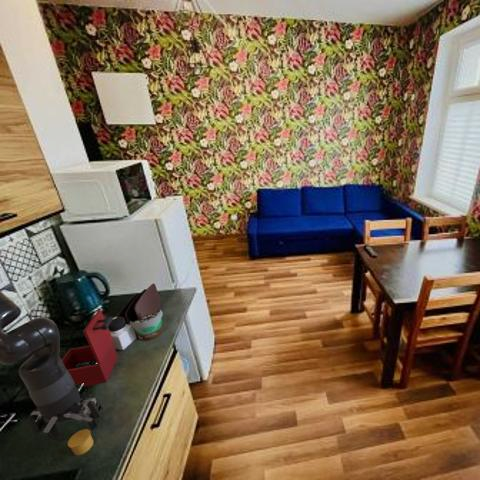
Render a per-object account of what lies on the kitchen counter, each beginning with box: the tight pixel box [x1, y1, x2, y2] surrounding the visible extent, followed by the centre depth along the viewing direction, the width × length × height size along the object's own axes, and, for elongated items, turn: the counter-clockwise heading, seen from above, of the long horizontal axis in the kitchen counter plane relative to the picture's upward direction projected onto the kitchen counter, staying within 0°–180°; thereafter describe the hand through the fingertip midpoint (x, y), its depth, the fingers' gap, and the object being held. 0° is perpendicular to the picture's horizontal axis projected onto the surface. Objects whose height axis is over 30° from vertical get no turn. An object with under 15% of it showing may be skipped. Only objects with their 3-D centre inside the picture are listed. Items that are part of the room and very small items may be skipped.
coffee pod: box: [67, 428, 94, 456], centre depth 75 cm, size 5×5×4 cm
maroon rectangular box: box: [61, 342, 119, 388], centre depth 97 cm, size 14×12×8 cm
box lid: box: [82, 309, 114, 364], centre depth 94 cm, size 14×12×5 cm
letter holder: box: [116, 282, 162, 331], centre depth 124 cm, size 10×20×14 cm, turn 8°
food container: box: [130, 307, 164, 341], centre depth 114 cm, size 12×6×10 cm, turn 137°
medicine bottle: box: [108, 316, 138, 351], centre depth 110 cm, size 7×7×12 cm
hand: (76, 431), depth 73 cm, fingers open, 8 cm apart
